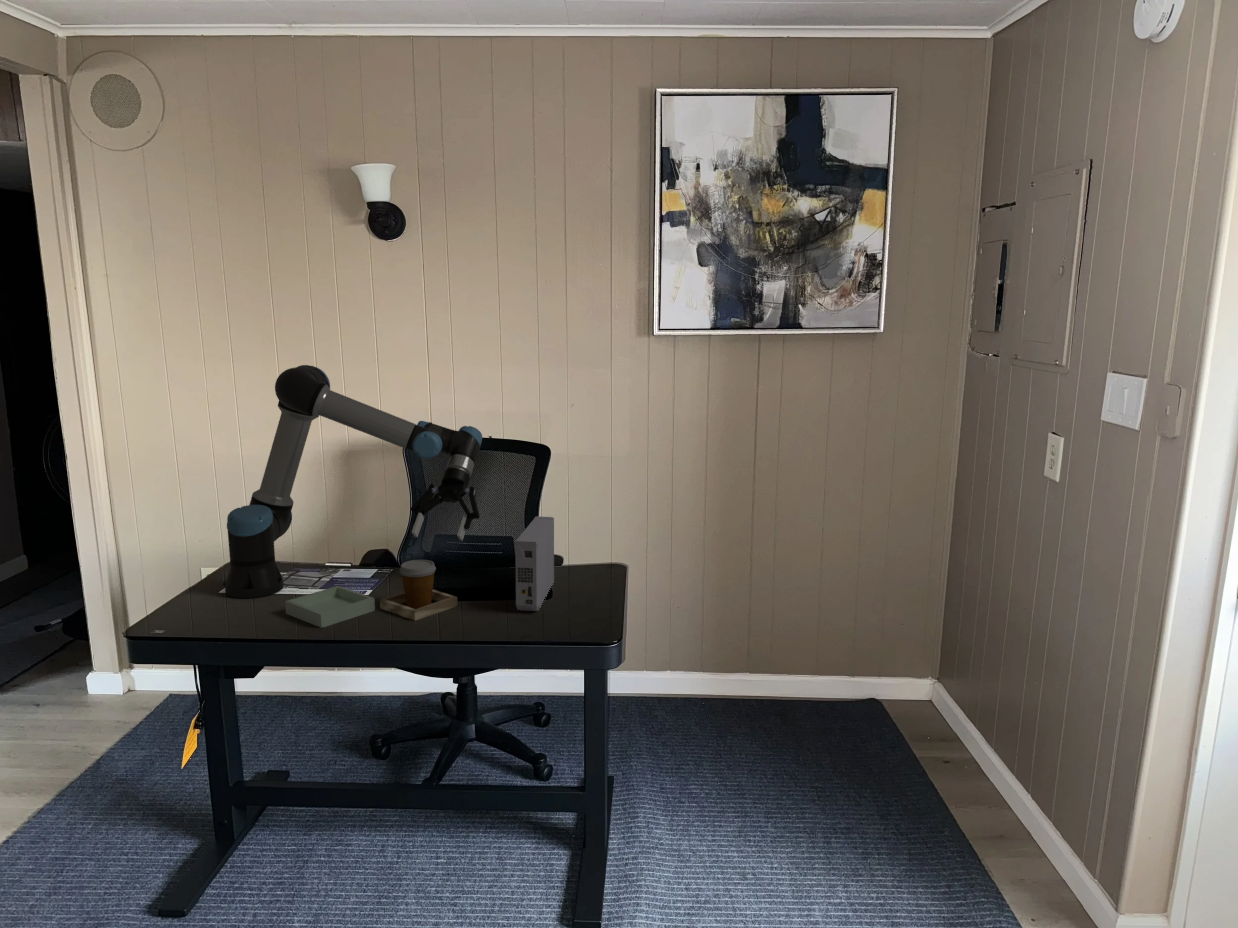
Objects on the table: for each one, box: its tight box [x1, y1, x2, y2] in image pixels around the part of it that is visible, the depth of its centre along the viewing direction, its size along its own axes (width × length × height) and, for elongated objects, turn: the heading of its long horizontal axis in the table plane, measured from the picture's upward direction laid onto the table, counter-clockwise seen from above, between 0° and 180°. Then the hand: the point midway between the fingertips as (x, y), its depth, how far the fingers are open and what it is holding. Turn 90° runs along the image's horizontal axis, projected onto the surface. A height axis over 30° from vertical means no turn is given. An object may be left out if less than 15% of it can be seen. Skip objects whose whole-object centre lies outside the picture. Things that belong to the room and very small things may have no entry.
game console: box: [514, 515, 555, 612], centre depth 231 cm, size 6×27×20 cm, turn 174°
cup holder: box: [379, 589, 458, 622], centre depth 224 cm, size 14×14×2 cm
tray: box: [284, 585, 376, 629], centre depth 219 cm, size 16×16×4 cm
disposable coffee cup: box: [398, 559, 437, 609], centre depth 223 cm, size 10×10×12 cm
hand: (436, 536), depth 231 cm, fingers open, 13 cm apart
